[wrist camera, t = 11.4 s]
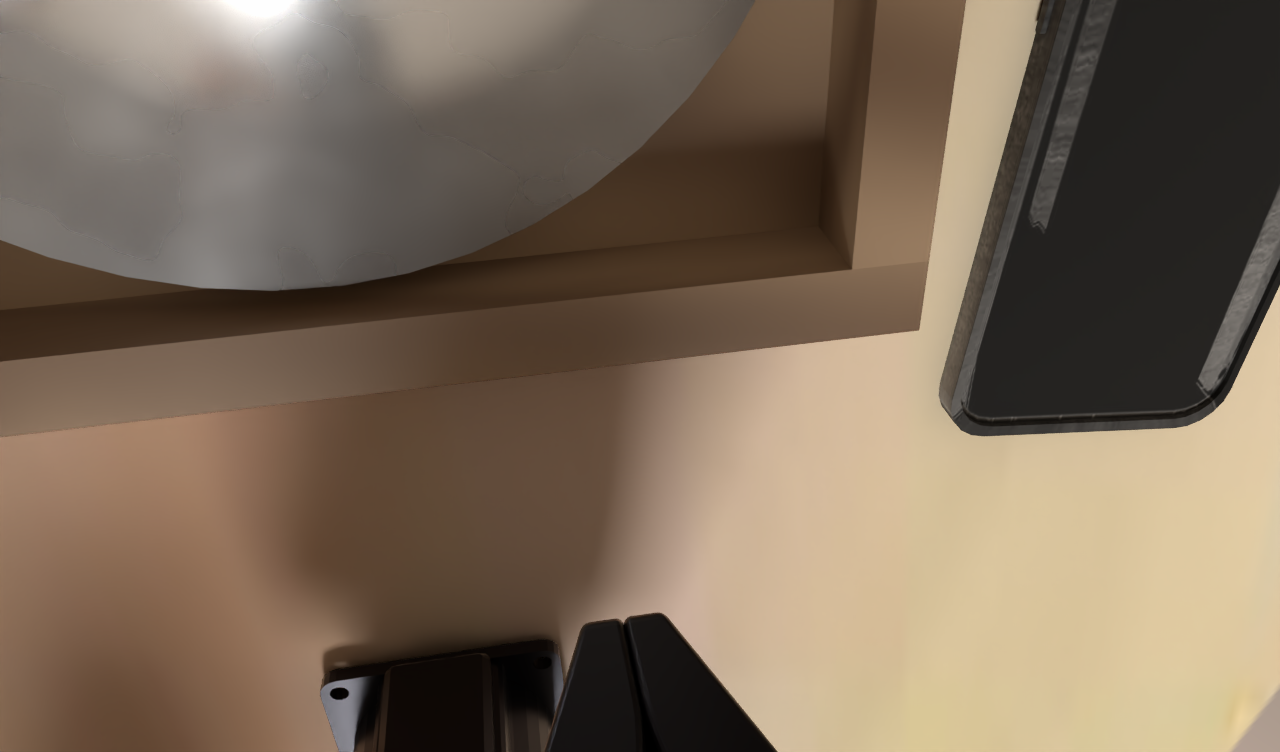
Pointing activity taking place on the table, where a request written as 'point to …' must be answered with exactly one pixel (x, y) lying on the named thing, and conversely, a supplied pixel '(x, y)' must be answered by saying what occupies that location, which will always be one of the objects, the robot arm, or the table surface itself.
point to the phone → (1125, 222)
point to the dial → (324, 126)
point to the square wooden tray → (565, 251)
